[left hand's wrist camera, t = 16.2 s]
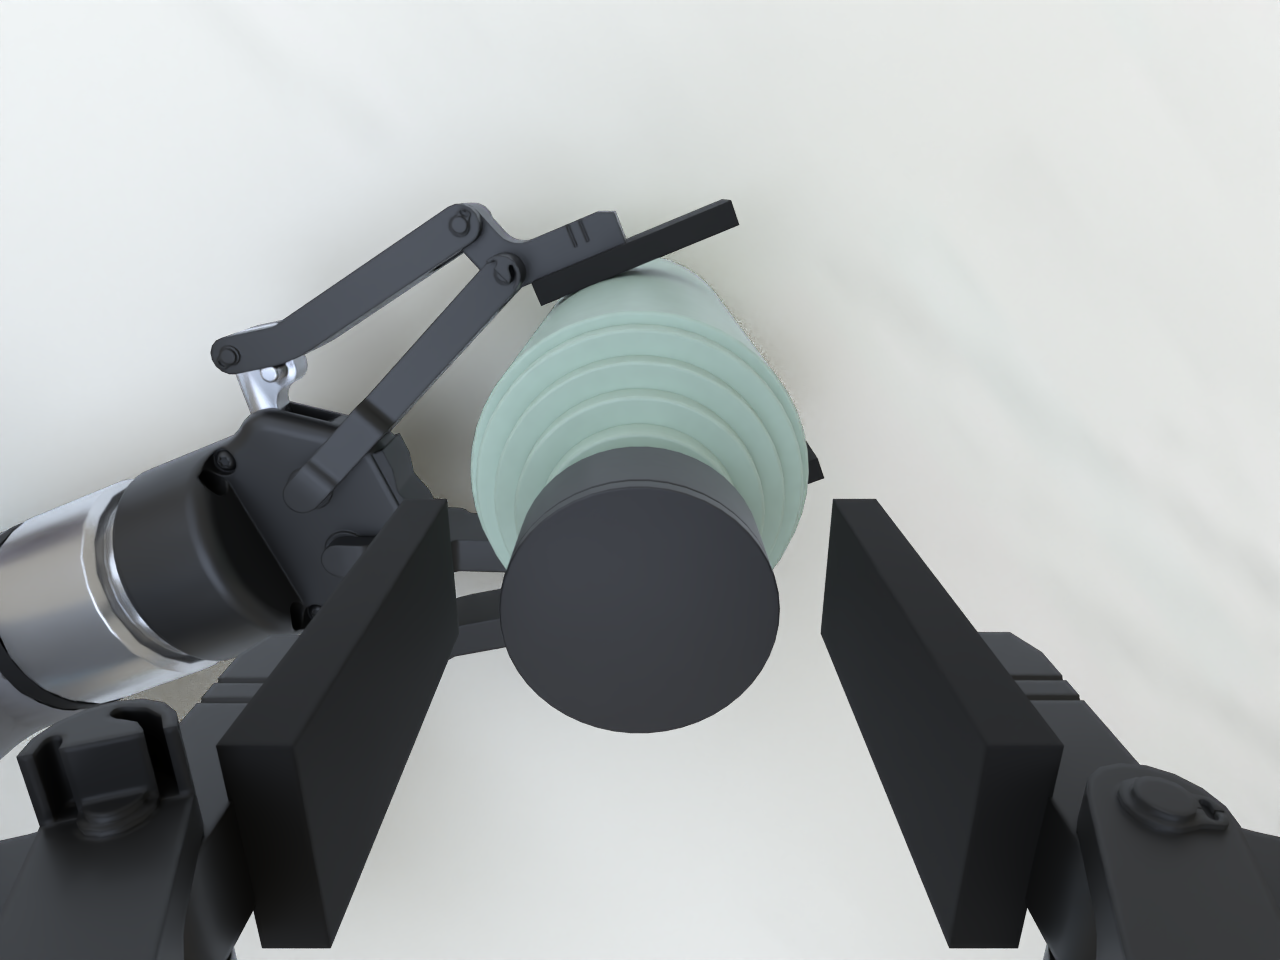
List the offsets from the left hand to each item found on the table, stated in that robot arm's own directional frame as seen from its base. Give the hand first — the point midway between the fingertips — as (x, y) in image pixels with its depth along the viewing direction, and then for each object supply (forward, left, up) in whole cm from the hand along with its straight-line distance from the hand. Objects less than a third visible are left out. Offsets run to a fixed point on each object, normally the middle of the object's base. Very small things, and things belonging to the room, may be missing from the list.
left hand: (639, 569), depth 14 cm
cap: (0, 0, +1) cm, 1 cm away
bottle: (0, 0, -20) cm, 20 cm away
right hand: (-4, -2, -13) cm, 14 cm away
